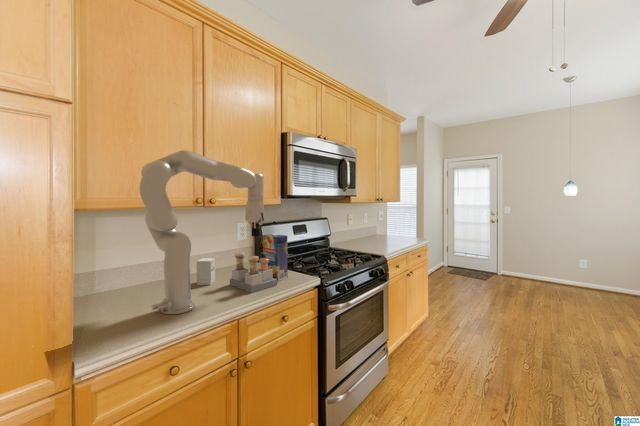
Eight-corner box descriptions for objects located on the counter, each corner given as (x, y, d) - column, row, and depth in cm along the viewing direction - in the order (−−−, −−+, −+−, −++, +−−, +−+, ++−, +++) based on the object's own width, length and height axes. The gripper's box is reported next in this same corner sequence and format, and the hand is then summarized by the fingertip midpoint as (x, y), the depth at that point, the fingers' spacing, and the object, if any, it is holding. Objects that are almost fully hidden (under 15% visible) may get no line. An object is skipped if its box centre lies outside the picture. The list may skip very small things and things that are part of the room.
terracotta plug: (263, 277, 146) (263, 260, 145) (257, 275, 149) (257, 258, 148) (271, 275, 149) (270, 258, 149) (265, 273, 153) (265, 257, 152)
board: (251, 292, 137) (251, 276, 136) (229, 284, 149) (229, 269, 149) (277, 285, 149) (277, 269, 148) (255, 277, 161) (255, 263, 161)
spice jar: (252, 276, 138) (252, 258, 138) (246, 274, 141) (246, 257, 141) (260, 274, 142) (260, 257, 141) (254, 272, 145) (254, 255, 144)
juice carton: (287, 278, 161) (287, 235, 160) (277, 281, 156) (277, 237, 154) (273, 274, 169) (273, 233, 167) (263, 277, 163) (262, 235, 161)
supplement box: (211, 285, 148) (210, 261, 148) (196, 285, 148) (195, 261, 147) (215, 280, 156) (215, 257, 155) (201, 281, 155) (201, 258, 155)
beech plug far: (238, 271, 146) (238, 255, 146) (233, 270, 149) (233, 253, 149) (246, 269, 150) (246, 253, 149) (241, 268, 153) (241, 252, 152)
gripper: (240, 198, 143) (240, 235, 144) (258, 199, 133) (258, 238, 134) (252, 198, 149) (252, 234, 150) (271, 199, 139) (270, 236, 140)
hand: (255, 235), depth 142 cm, fingers closed
